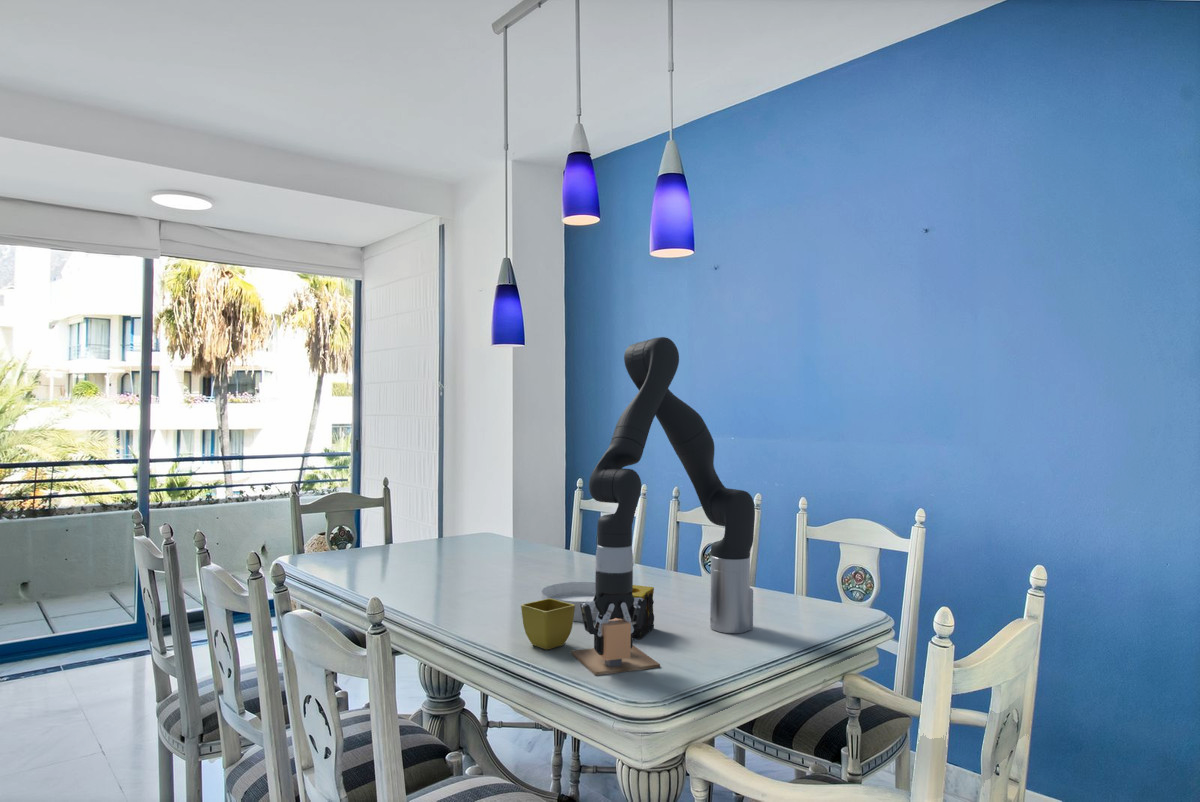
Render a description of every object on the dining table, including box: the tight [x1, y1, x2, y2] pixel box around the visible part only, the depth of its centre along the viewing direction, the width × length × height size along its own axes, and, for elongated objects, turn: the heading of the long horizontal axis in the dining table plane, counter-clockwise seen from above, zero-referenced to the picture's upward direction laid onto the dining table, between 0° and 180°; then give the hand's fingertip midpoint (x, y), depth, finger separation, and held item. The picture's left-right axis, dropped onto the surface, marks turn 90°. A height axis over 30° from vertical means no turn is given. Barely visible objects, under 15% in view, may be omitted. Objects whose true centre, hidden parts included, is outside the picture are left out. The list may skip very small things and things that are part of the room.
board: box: [570, 645, 661, 676], centre depth 154 cm, size 14×14×1 cm
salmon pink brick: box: [600, 618, 631, 661], centre depth 149 cm, size 5×5×7 cm
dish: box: [540, 581, 599, 622], centre depth 194 cm, size 22×22×5 cm
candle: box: [628, 584, 655, 640], centre depth 175 cm, size 10×10×10 cm
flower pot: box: [520, 598, 575, 650], centre depth 163 cm, size 9×9×9 cm
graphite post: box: [605, 659, 622, 667], centre depth 149 cm, size 3×3×6 cm
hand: (613, 651), depth 149 cm, fingers closed on salmon pink brick, 5 cm apart
